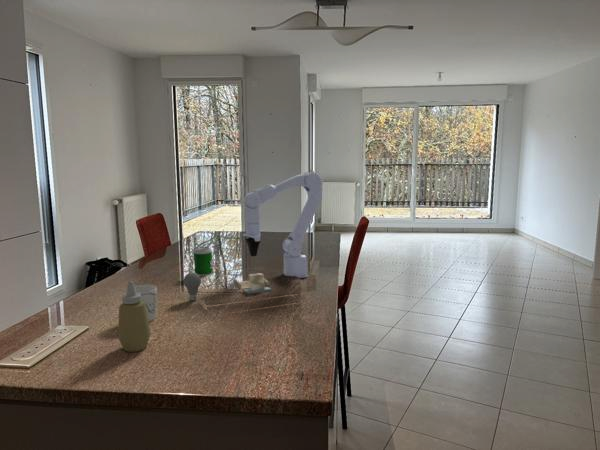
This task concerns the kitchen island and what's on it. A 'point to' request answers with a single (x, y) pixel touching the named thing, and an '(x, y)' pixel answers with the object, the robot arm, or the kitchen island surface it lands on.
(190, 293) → the light bulb
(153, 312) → the mug
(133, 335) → the squeeze bottle
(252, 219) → the robot arm
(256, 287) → the beige rectangular block
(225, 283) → the kitchen island surface
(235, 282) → the bed
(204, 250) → the soda can
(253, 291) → the panel
